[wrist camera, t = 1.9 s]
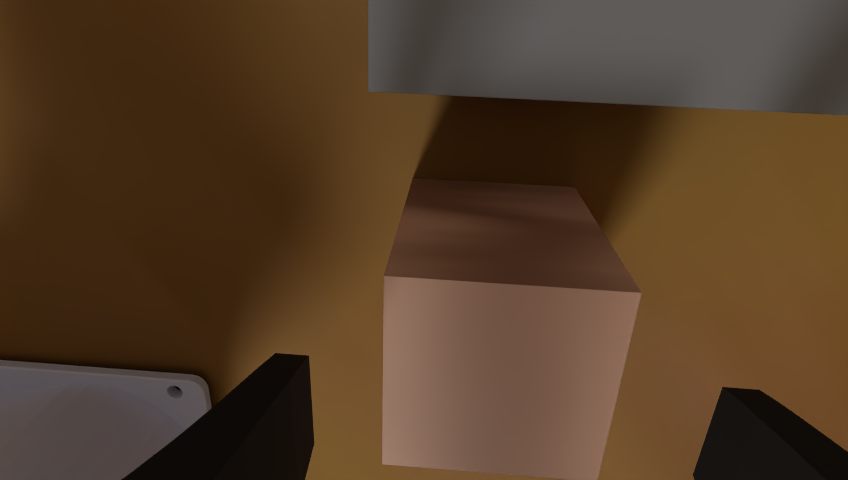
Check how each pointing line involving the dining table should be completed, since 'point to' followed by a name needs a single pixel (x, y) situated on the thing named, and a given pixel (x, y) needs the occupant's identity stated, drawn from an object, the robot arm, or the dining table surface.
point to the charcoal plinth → (617, 51)
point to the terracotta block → (502, 331)
